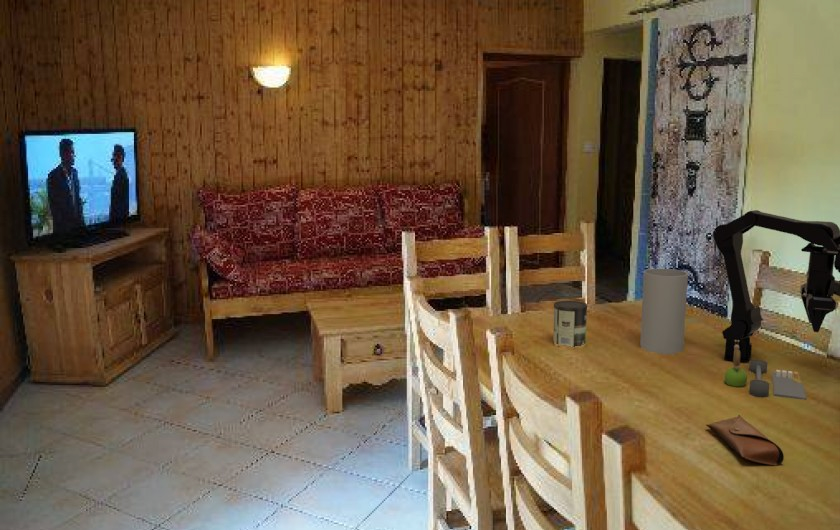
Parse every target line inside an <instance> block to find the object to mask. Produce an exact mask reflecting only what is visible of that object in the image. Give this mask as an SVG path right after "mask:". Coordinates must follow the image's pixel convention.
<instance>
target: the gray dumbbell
mask: <svg viewBox="0 0 840 530" xmlns="http://www.w3.org/2000/svg"><path fill="white" fill-rule="evenodd" d="M748 371H749V372H750V371H751V372H750V373H752V372H753V373H752V374H755V375H756V377H755V378H756V379H751V380H750V381H749V391H748V392H749V393H748V394H749V395H750V396H752V397H757V398H768V397H769V392H770V383H769V382H768V381H765V380H763V377H762V375H764V374H763V373H765V374H767V373H768V362H767V361H765V360H761V359H751V360H750V359H749V368H748ZM766 372H767V373H766Z"/></svg>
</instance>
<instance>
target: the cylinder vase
mask: <svg viewBox="0 0 840 530" xmlns="http://www.w3.org/2000/svg"><path fill="white" fill-rule="evenodd" d="M688 277H689V273H688V272H687V271H683V270H679V269H671V268H649V269H645V270H644V271H643V280H642V283H643V285H642V299H641V300H642V301H641V303H642V304H641V319H640V320H641V323H640V324H641V325H640V338H639V339H640V341H639V347H640V346H641V347H642V348H643V349H645V350H647V351H650V352H655V353H660V354H659V355H665V354H670V355H676V354H675V353H678V352H681V351H682V350H683V351H684V346H685V345H684V341H685V330H686V329H685V327H686V310H687V297H688V296H687V294H688V293H687V292H688ZM647 351H646V352H647ZM683 351H682V352H683ZM650 352H649V353H650ZM682 352H681V353H682ZM655 353H654V354H655ZM678 354H679V353H678Z"/></svg>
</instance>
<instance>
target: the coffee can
mask: <svg viewBox="0 0 840 530" xmlns="http://www.w3.org/2000/svg"><path fill="white" fill-rule="evenodd" d="M587 312H588V303H586V302H583V301H579V300H560V301H555V302H554V303H553V340H552V342H553V341H554V342H555V343H556V344H559V345H564V346H571V347H572V346H573V347H575V346H581V345H584V344H585V343H586V344H587V318H588V313H587Z"/></svg>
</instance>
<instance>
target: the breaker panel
mask: <svg viewBox="0 0 840 530" xmlns="http://www.w3.org/2000/svg"><path fill="white" fill-rule="evenodd" d="M775 371H776V372H772V371H771V376H772V377H771V378H772V385H773V396H774V397H778V398H779V397H780V398H787V399H794V400H795V399H796V400H802V399H804V400H803V401H806V400H807V395H806V392H805V391H806V390H805V387H804V383H803V384H802V383H798V382H796V381H794V380H793V379H790V378H792V375H794V378H797V379H798V375H799V376H800V373H799V371H790V370H788V371H787V370H784V369H782V370H781V369H776V370H775ZM781 373H782V374H781ZM787 374H788V376H786V375H787Z"/></svg>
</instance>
